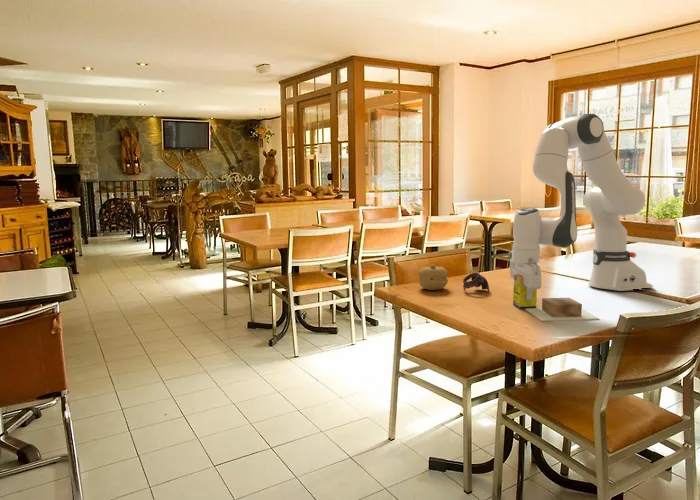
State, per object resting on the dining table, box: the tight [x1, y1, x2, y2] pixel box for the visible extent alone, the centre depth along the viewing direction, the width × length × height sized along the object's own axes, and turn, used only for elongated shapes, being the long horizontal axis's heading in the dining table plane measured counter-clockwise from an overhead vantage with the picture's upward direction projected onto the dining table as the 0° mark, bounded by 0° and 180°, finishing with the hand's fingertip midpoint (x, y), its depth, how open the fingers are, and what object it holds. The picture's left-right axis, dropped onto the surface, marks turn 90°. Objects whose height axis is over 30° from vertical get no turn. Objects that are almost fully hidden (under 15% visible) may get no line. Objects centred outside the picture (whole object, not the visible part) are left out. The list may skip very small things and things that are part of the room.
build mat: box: [525, 307, 600, 322], centre depth 169 cm, size 18×14×1 cm
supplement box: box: [512, 274, 538, 310], centre depth 179 cm, size 6×6×11 cm
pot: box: [417, 264, 449, 291], centre depth 210 cm, size 12×12×10 cm
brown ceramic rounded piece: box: [462, 271, 491, 293], centre depth 205 cm, size 12×9×8 cm
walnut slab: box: [541, 297, 583, 317], centre depth 169 cm, size 9×9×4 cm
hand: (524, 296), depth 180 cm, fingers closed on supplement box, 6 cm apart
